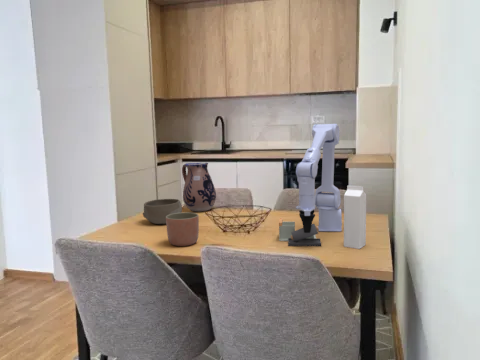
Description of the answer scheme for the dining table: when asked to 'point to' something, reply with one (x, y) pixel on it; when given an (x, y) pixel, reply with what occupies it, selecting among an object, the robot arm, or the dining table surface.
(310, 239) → the dark grey roller cradle
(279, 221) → the long tan wooden plank
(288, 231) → the white roller cradle
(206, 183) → the ceramic pitcher
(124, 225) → the dining table surface
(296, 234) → the grey roller spool
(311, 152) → the robot arm
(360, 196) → the milk
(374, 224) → the dining table surface
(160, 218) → the bowl
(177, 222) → the planter
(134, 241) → the dining table surface
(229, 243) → the dining table surface
